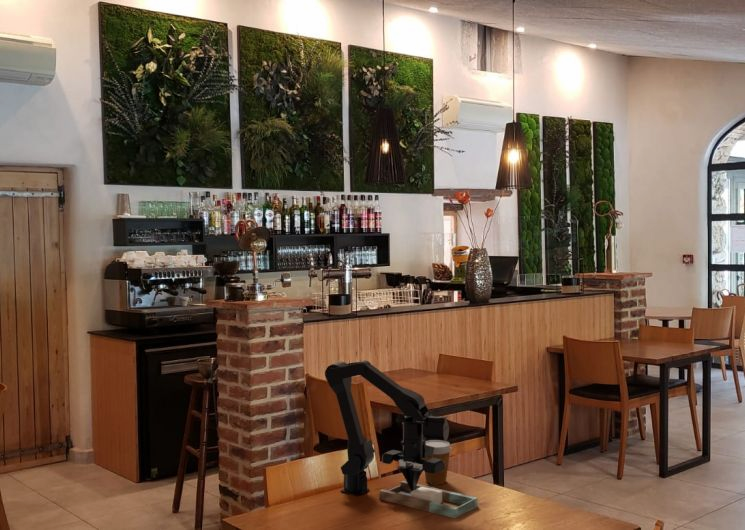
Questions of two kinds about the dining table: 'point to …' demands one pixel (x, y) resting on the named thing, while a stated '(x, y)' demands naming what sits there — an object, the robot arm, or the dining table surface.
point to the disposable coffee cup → (441, 453)
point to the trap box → (404, 497)
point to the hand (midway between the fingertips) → (412, 490)
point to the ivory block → (428, 494)
